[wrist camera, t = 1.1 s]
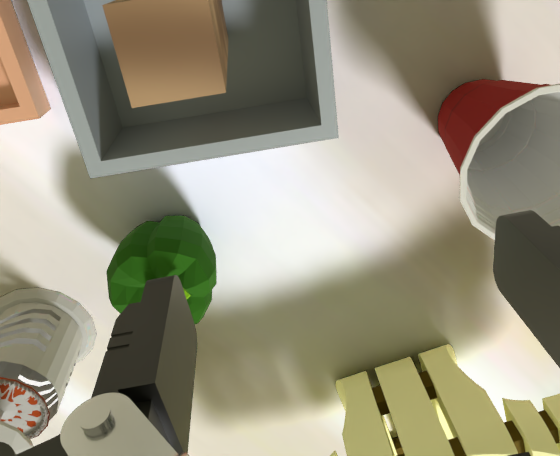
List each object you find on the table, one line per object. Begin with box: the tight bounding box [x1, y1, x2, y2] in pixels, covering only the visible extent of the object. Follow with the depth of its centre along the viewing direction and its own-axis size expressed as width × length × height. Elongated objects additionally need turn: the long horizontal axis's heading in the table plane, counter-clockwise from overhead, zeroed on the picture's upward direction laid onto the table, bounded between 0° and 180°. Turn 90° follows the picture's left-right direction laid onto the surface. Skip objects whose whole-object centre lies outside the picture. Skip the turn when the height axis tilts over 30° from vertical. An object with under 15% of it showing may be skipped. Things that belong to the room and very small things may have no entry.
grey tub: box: [27, 0, 339, 178], centre depth 31 cm, size 16×16×8 cm
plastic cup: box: [438, 79, 560, 240], centre depth 35 cm, size 11×11×12 cm
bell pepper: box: [107, 215, 216, 324], centre depth 39 cm, size 8×8×10 cm
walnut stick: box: [102, 0, 228, 108], centre depth 27 cm, size 4×4×16 cm
